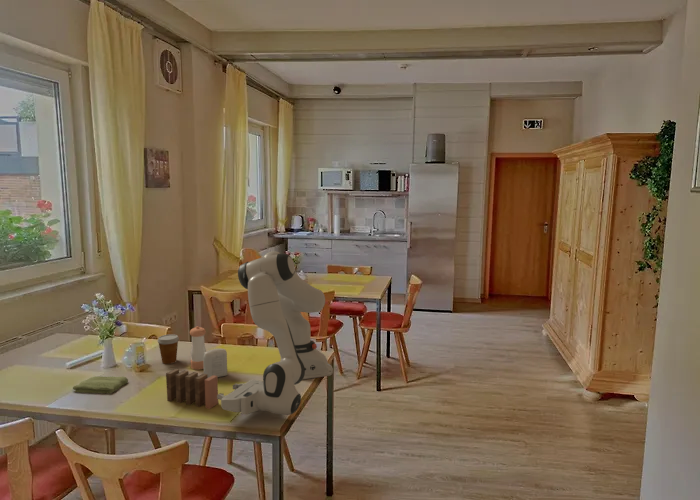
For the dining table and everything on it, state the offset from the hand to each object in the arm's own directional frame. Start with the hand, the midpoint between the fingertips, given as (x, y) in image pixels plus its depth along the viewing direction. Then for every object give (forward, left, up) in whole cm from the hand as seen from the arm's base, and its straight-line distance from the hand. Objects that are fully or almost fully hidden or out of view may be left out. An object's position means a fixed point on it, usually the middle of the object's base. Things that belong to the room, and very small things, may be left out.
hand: (226, 391), depth 183 cm
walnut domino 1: (+21, -12, -7) cm, 26 cm away
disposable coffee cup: (+32, -55, -7) cm, 64 cm away
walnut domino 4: (+10, -6, -7) cm, 13 cm away
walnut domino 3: (+14, -8, -7) cm, 17 cm away
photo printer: (+8, -33, -7) cm, 35 cm away
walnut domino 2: (+18, -10, -7) cm, 21 cm away
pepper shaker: (+17, -46, -7) cm, 49 cm away
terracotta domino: (+6, -3, -7) cm, 10 cm away
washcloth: (+53, -28, -8) cm, 61 cm away
